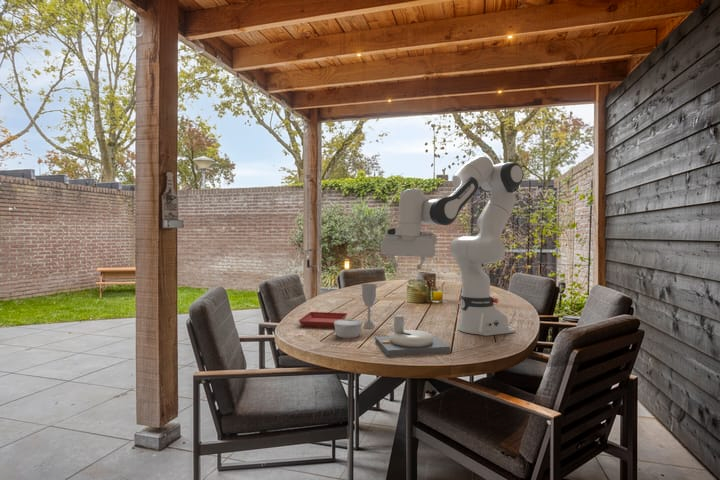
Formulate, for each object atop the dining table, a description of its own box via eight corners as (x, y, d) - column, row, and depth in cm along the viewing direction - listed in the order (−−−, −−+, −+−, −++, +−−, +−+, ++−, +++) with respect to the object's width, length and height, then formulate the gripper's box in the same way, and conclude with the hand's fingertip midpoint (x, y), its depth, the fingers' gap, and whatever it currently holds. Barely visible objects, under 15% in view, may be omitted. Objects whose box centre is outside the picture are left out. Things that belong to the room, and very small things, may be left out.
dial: (441, 340, 146) (441, 318, 146) (416, 349, 135) (416, 325, 135) (406, 333, 156) (407, 312, 156) (381, 340, 145) (381, 318, 145)
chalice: (375, 329, 171) (375, 286, 171) (359, 328, 172) (359, 285, 172) (378, 325, 178) (378, 284, 178) (362, 324, 180) (362, 283, 179)
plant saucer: (339, 329, 172) (339, 321, 172) (297, 327, 175) (297, 320, 175) (347, 320, 190) (347, 313, 190) (310, 318, 193) (310, 311, 193)
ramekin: (358, 330, 169) (358, 318, 169) (365, 338, 158) (365, 324, 158) (331, 332, 166) (331, 319, 166) (336, 339, 156) (336, 325, 155)
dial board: (431, 339, 156) (431, 332, 156) (450, 352, 139) (450, 344, 139) (375, 342, 152) (375, 335, 152) (387, 356, 135) (387, 348, 135)
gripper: (438, 233, 153) (436, 270, 153) (385, 230, 160) (383, 266, 160) (435, 232, 148) (433, 270, 147) (380, 229, 154) (378, 266, 154)
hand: (406, 268), depth 154 cm, fingers open, 8 cm apart
